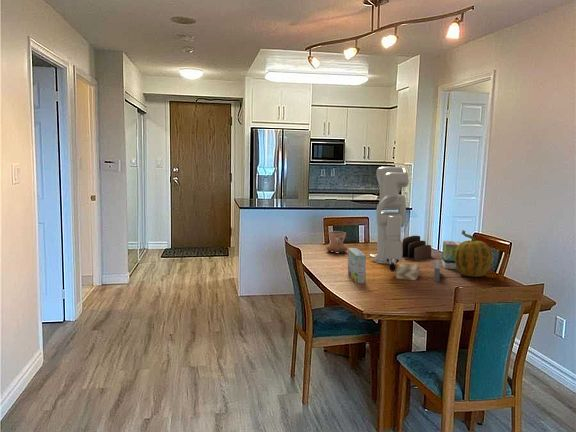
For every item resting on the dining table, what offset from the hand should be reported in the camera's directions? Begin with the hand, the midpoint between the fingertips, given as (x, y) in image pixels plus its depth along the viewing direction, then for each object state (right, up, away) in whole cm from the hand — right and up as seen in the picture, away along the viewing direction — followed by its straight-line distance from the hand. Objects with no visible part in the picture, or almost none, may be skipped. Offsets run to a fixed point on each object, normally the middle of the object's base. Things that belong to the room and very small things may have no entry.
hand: (392, 270), depth 261 cm
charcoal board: (+24, -3, -2) cm, 24 cm away
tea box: (+41, -1, +25) cm, 48 cm away
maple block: (+8, -3, -2) cm, 9 cm away
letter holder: (+27, +2, +52) cm, 59 cm away
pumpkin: (+44, -3, +1) cm, 45 cm away
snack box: (-21, -4, -8) cm, 23 cm away
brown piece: (-24, +5, +69) cm, 73 cm away
